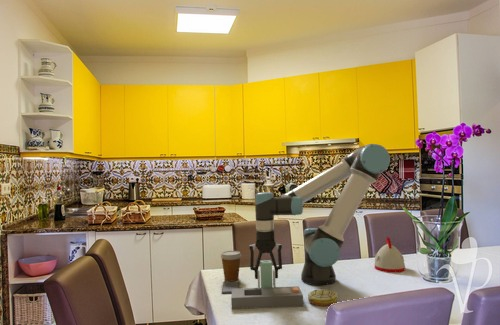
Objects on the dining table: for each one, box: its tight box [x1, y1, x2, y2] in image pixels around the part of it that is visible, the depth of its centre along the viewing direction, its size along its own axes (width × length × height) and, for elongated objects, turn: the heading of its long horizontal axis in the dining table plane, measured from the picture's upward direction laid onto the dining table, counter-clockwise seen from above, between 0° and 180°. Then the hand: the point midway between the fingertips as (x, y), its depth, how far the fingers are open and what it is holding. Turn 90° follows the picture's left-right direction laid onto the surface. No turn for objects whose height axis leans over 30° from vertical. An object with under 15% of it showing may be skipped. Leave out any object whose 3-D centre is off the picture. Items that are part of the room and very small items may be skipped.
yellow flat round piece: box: [307, 288, 338, 307], centre depth 134 cm, size 10×11×4 cm
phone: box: [221, 281, 240, 295], centre depth 152 cm, size 7×13×1 cm, turn 1°
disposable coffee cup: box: [220, 250, 242, 282], centre depth 165 cm, size 10×10×12 cm
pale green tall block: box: [259, 259, 274, 288], centre depth 148 cm, size 4×4×12 cm
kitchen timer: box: [374, 236, 406, 274], centre depth 175 cm, size 14×14×15 cm
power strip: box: [230, 285, 304, 310], centre depth 135 cm, size 26×10×5 cm, turn 91°
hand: (266, 286), depth 148 cm, fingers open, 6 cm apart
